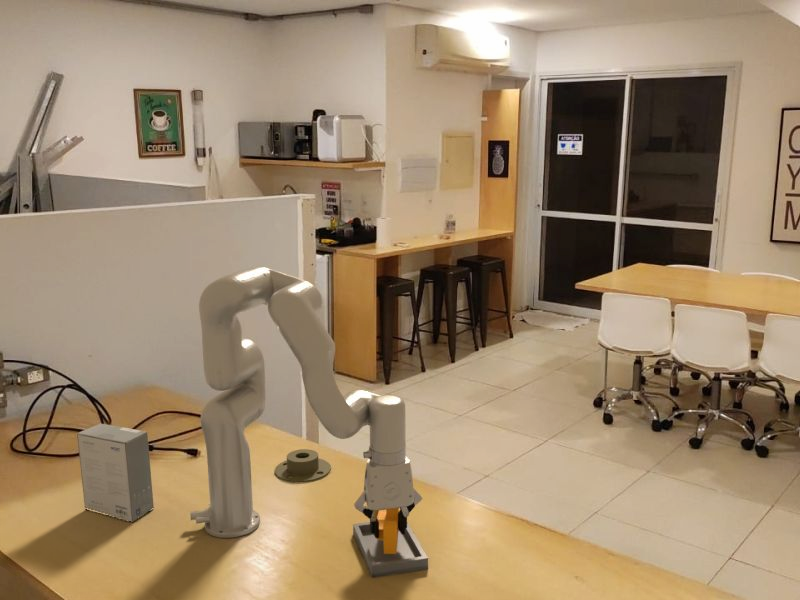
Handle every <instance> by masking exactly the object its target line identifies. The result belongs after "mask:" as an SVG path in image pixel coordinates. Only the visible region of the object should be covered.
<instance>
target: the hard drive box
mask: <svg viewBox="0 0 800 600" xmlns="http://www.w3.org/2000/svg"><path fill="white" fill-rule="evenodd" d="M148 436H149V435H148V431H145V430H139V429H134V428H130V427H122V426H116V425H111V424H105V423H98V424H96V425H93V426H91V427H87V428H86V429H84V430H81V431H79V432H78V433H77V434H76V437H77V445H78V446H77V448H78V455H79V466H80V475H81V483H82V492H83V493H82V495H83V500H84V504H83V505H84V509H85V508H88V509H91V510H95V511H98V512H101V513H105V514H108V515H111V516H114V517H117V518H121V519H124V520H123V521H125V520H128V521H127V522H129V521H131V522H130V523H132V522H135V521H137V520H138V519H139V518H138V517H140V516H141V517H143V516H145V515H146V514H147V513H146V512H148V511H150V510H151V509H152V508H154V509H155V507H154V495H153V483H152V482H153V481H152V473H151V471H152V469H151V460H150V449H149V438H148ZM151 511H152V510H151ZM151 511H150V512H151ZM145 513H146V514H145ZM148 513H149V512H148ZM144 514H145V515H144ZM142 515H143V516H142ZM114 517H113V518H114ZM141 517H140V518H141ZM117 518H116V519H117ZM137 518H138V519H137ZM134 520H135V521H134Z"/></svg>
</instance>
